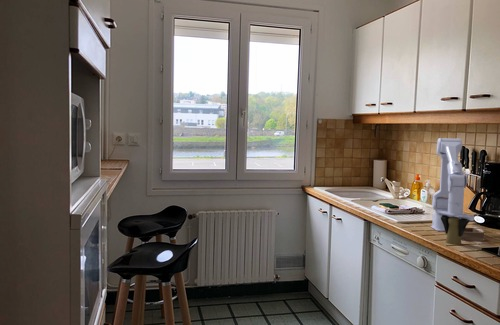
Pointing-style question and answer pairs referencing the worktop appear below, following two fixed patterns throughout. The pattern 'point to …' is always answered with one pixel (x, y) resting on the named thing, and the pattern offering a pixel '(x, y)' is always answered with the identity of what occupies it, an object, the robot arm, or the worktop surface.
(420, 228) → the worktop surface
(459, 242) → the cork
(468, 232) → the holder
